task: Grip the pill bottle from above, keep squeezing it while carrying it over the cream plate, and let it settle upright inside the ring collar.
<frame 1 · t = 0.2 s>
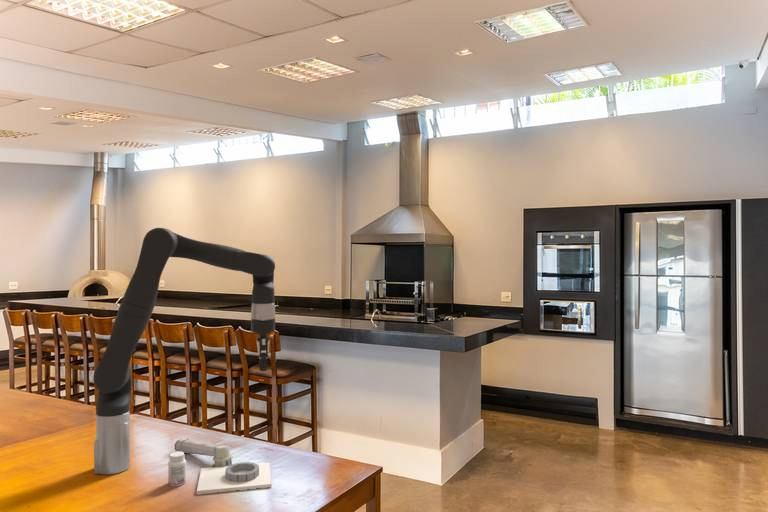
hand: (262, 367, 181), 29 cm above the table, tool pointing down, fingers open, 8 cm apart
collar plate: (235, 479, 164), on the table
rod with end cap: (203, 460, 180), on the table
pill bottle: (177, 483, 161), on the table
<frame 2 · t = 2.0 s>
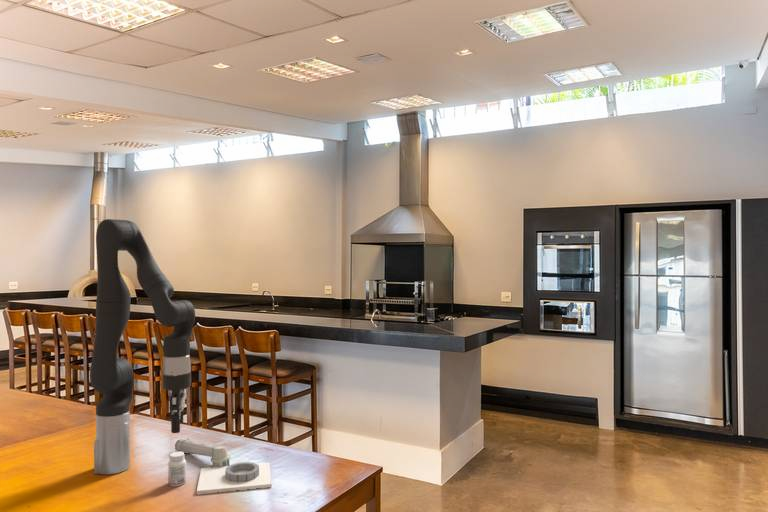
hand: (177, 427, 161), 16 cm above the table, tool pointing down, fingers open, 8 cm apart
nothing on the table moved.
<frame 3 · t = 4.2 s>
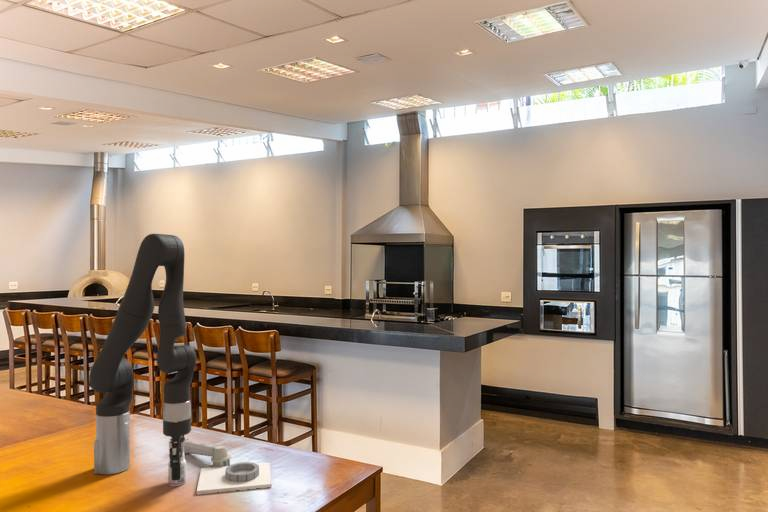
hand: (177, 475, 161), 2 cm above the table, tool pointing down, fingers closed on pill bottle, 4 cm apart
pill bottle: (177, 483, 161), on the table, touching gripper
everything else where it was.
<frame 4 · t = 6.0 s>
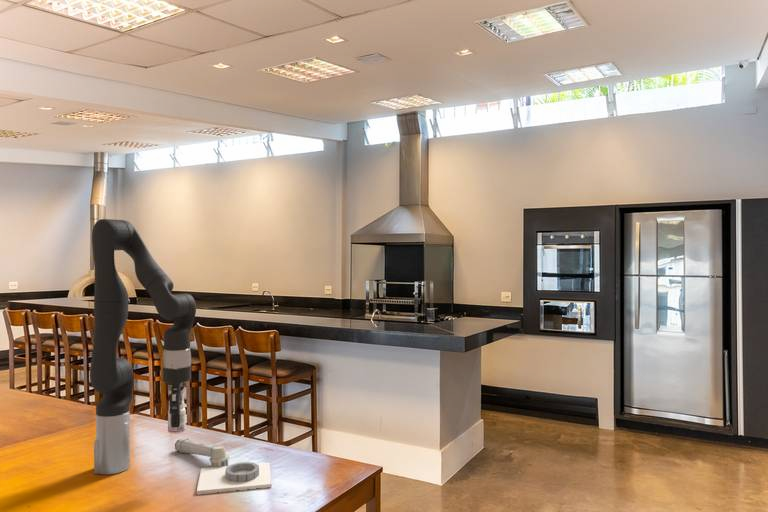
hand: (176, 423, 161), 17 cm above the table, tool pointing down, fingers closed on pill bottle, 4 cm apart
pill bottle: (176, 432, 161), point 15 cm above the table, touching gripper
everything else where it was.
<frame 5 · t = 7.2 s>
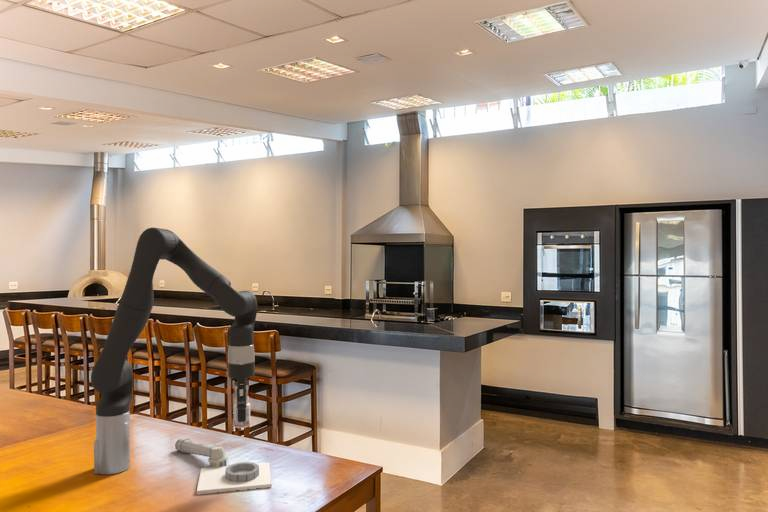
hand: (241, 418, 164), 18 cm above the table, tool pointing down, fingers closed on pill bottle, 4 cm apart
pill bottle: (242, 426, 164), point 15 cm above the table, touching gripper
everything else where it was.
when the fingers open (6 cm above the table, at t = 10.3 s): pill bottle drops 3 cm, resting on collar plate.
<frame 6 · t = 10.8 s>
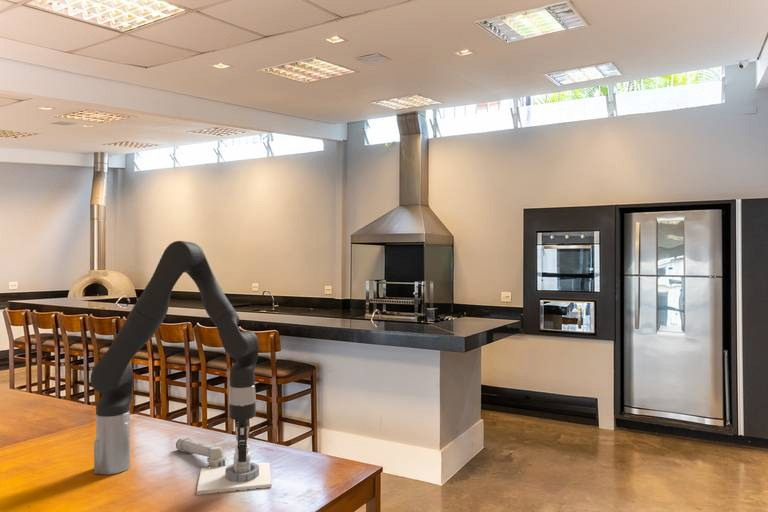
hand: (242, 456, 165), 7 cm above the table, tool pointing down, fingers open, 8 cm apart
pill bottle: (241, 475, 165), point 1 cm above the table, touching collar plate
everything else where it was.
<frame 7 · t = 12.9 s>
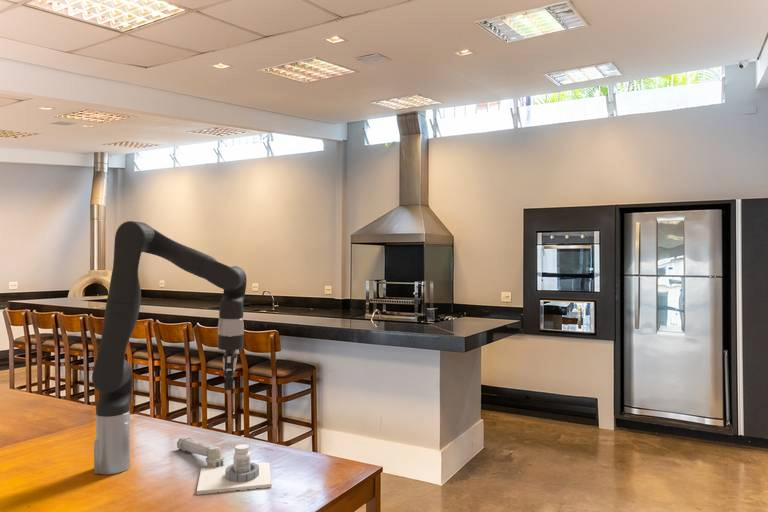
hand: (229, 386, 171), 25 cm above the table, tool pointing down, fingers open, 8 cm apart
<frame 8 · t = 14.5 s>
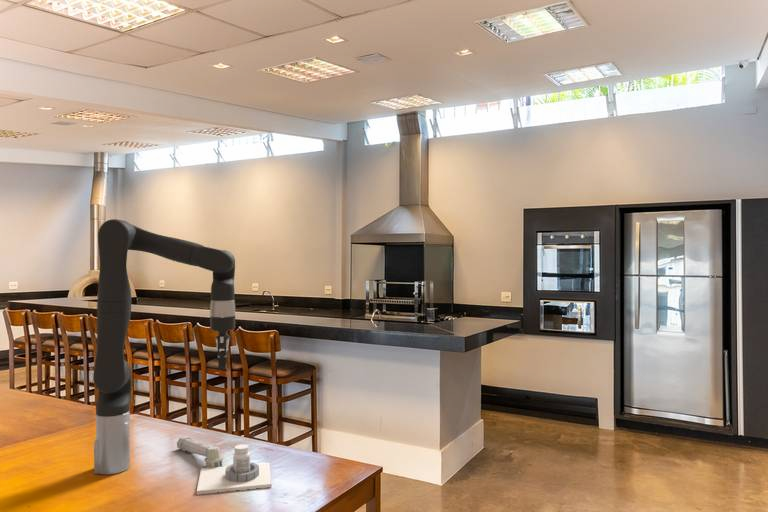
hand: (222, 366, 176), 30 cm above the table, tool pointing down, fingers open, 8 cm apart
at the end: pill bottle 0.1 cm from the target spot on the collar plate, point 0.8 cm above the collar plate's base; pill bottle tilted 1°; the gripper is holding nothing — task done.
